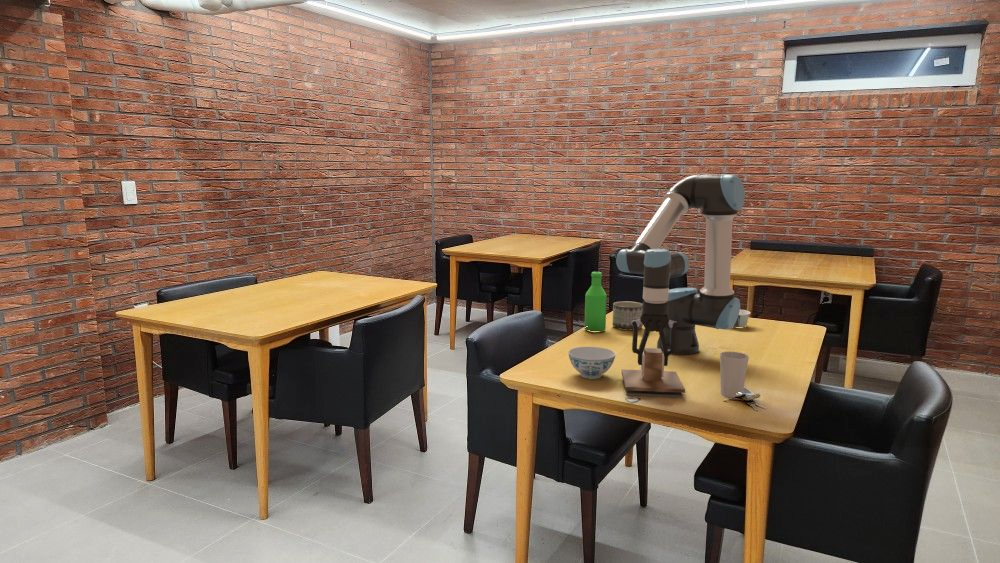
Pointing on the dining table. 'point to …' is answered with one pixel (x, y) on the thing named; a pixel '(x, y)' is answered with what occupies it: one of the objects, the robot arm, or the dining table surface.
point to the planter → (626, 314)
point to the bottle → (595, 305)
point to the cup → (733, 372)
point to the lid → (652, 375)
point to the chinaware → (591, 361)
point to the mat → (654, 393)
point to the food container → (742, 319)
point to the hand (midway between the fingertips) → (651, 375)
